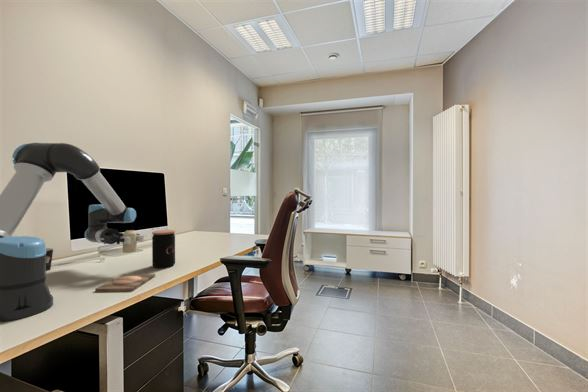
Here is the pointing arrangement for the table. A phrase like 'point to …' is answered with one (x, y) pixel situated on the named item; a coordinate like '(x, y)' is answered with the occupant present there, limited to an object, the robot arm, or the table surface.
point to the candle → (133, 245)
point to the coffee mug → (48, 258)
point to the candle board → (125, 283)
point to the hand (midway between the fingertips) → (136, 239)
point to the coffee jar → (163, 248)
